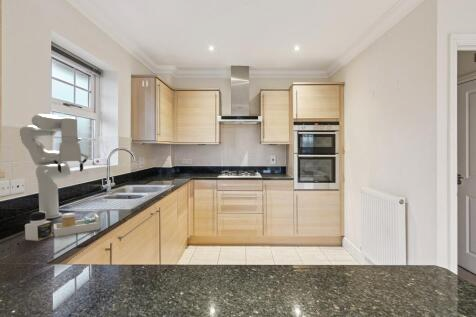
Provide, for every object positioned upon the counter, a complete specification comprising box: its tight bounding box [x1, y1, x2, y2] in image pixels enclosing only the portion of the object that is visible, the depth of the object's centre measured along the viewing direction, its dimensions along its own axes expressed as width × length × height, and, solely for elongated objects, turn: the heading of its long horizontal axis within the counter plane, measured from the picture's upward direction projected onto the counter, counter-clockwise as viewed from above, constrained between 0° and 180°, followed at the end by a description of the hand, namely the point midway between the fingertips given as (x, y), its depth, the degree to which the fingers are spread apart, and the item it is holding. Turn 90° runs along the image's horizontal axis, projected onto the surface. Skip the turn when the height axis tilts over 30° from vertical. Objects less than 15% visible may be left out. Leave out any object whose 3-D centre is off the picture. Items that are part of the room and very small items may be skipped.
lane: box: [53, 213, 101, 237], centre depth 138 cm, size 11×19×6 cm, turn 126°
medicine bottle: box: [24, 211, 53, 242], centre depth 126 cm, size 7×7×12 cm
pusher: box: [83, 216, 95, 224], centre depth 141 cm, size 8×4×4 cm, turn 36°
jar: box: [60, 212, 76, 227], centre depth 136 cm, size 6×6×8 cm
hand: (70, 171), depth 149 cm, fingers open, 9 cm apart
